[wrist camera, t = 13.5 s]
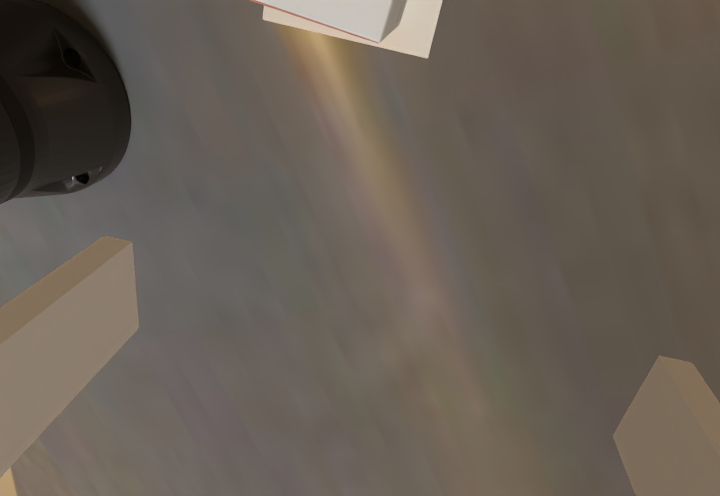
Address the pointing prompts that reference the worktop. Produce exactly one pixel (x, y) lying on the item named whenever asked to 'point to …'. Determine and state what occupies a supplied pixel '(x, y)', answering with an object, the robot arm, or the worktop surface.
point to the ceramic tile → (405, 38)
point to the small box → (347, 15)
